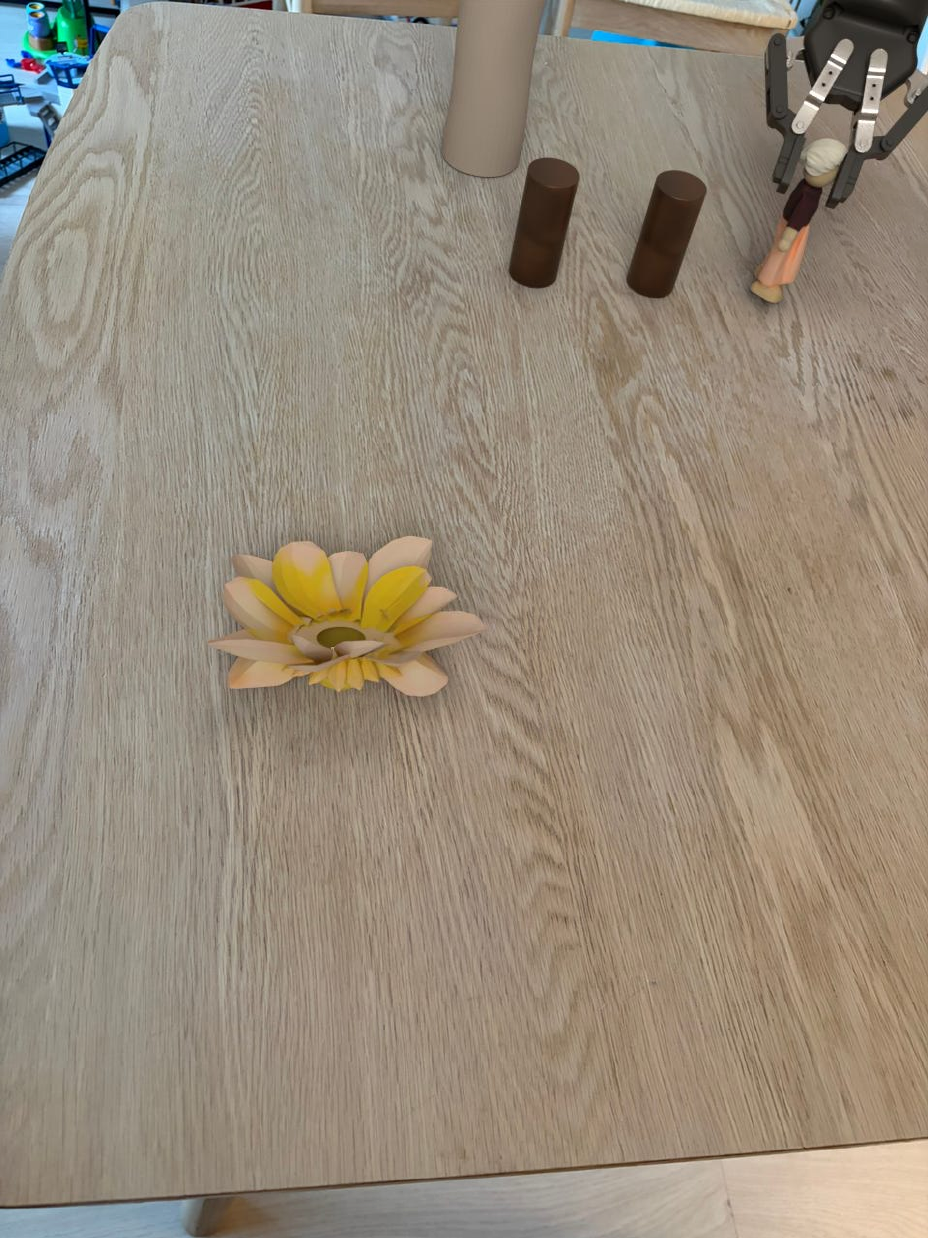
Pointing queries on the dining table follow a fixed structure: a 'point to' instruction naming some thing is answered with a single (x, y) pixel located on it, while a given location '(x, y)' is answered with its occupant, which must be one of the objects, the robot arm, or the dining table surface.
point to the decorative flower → (341, 618)
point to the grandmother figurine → (798, 218)
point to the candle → (491, 85)
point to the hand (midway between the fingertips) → (807, 197)
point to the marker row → (550, 216)
